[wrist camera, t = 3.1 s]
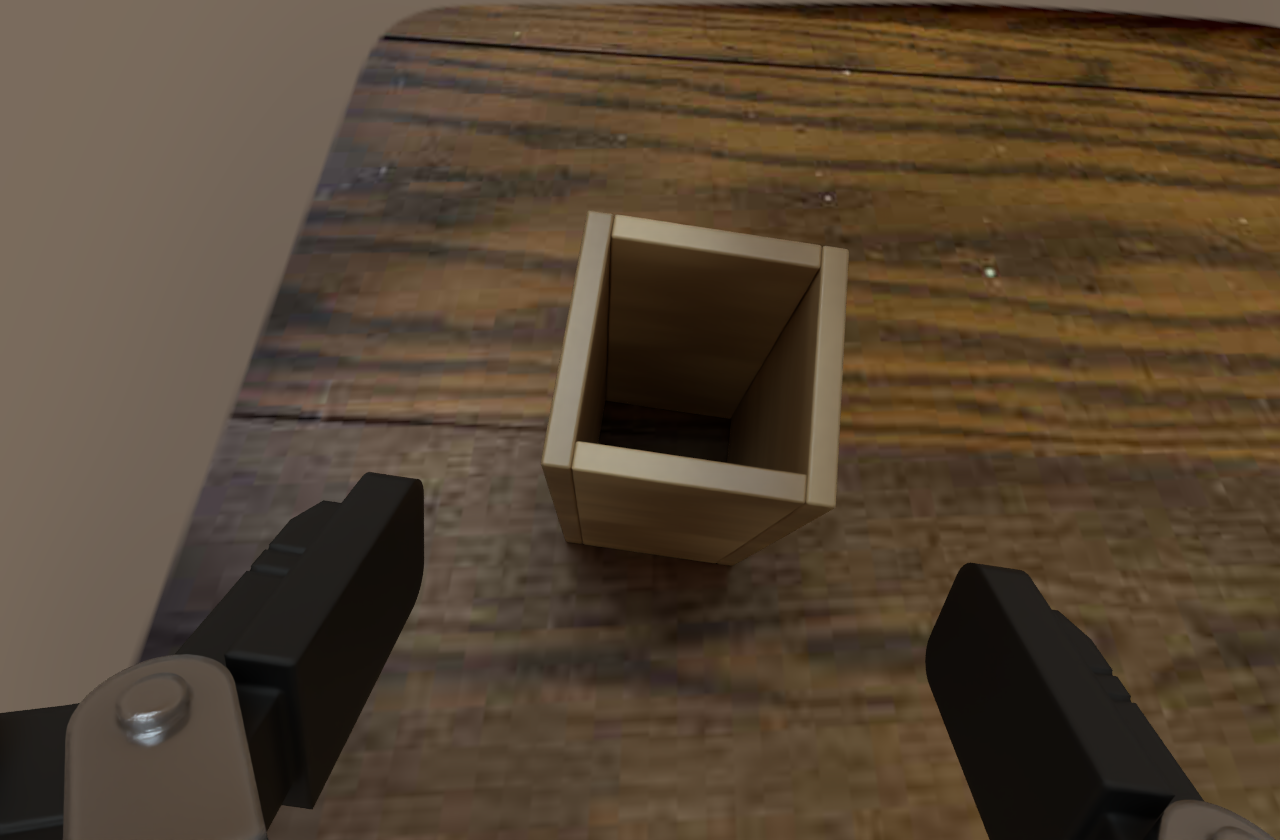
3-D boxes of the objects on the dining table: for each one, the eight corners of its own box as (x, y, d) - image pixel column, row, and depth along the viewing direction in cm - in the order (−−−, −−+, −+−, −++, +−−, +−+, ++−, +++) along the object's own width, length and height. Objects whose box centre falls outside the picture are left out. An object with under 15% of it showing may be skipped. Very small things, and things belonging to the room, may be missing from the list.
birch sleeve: (565, 541, 20) (540, 464, 11) (591, 383, 21) (587, 208, 13) (733, 566, 20) (837, 508, 11) (748, 406, 21) (850, 247, 13)
